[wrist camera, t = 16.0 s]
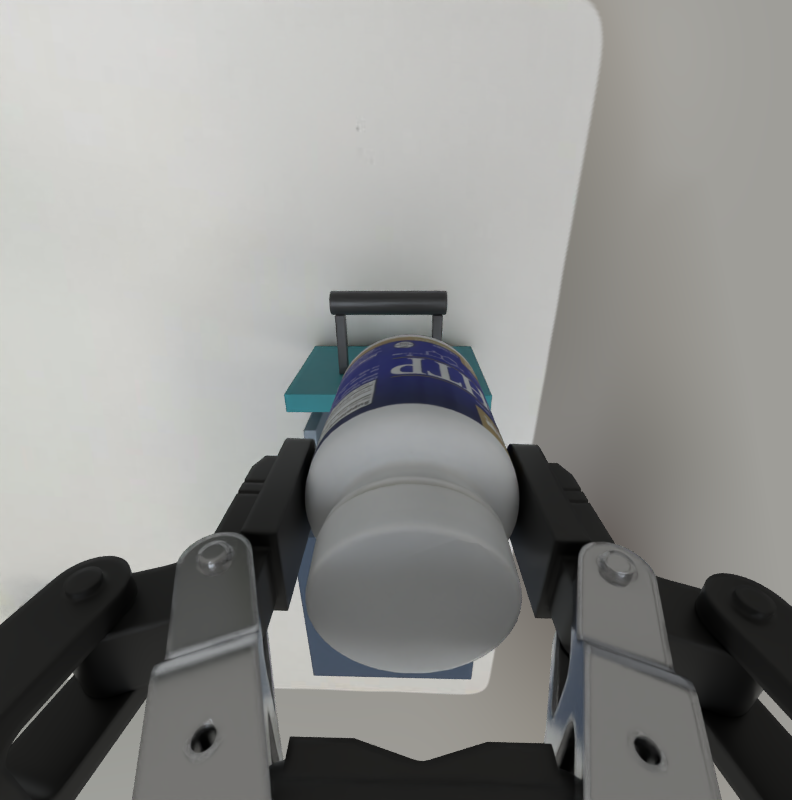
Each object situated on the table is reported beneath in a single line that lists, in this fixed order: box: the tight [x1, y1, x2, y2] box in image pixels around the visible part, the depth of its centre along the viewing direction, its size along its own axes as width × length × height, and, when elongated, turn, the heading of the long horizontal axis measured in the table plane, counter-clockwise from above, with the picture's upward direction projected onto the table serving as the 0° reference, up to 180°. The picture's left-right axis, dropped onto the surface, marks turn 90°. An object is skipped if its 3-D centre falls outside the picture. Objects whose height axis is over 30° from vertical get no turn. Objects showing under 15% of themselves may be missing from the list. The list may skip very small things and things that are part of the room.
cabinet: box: [298, 530, 473, 679], centre depth 36 cm, size 16×13×11 cm
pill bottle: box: [305, 335, 522, 673], centre depth 11 cm, size 5×5×9 cm
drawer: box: [284, 291, 492, 447], centre depth 30 cm, size 20×12×9 cm, turn 0°
